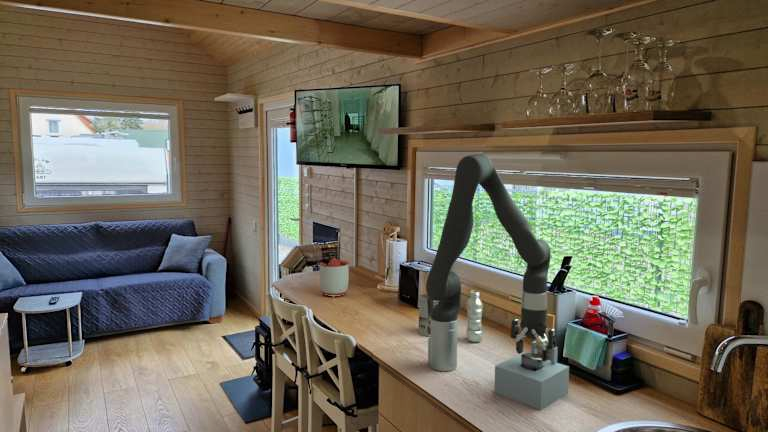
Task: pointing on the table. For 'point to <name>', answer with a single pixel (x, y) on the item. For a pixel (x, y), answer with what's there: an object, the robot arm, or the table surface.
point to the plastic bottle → (474, 317)
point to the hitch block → (532, 380)
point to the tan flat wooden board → (549, 324)
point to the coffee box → (425, 314)
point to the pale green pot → (334, 277)
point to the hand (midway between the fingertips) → (532, 356)
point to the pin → (531, 361)
